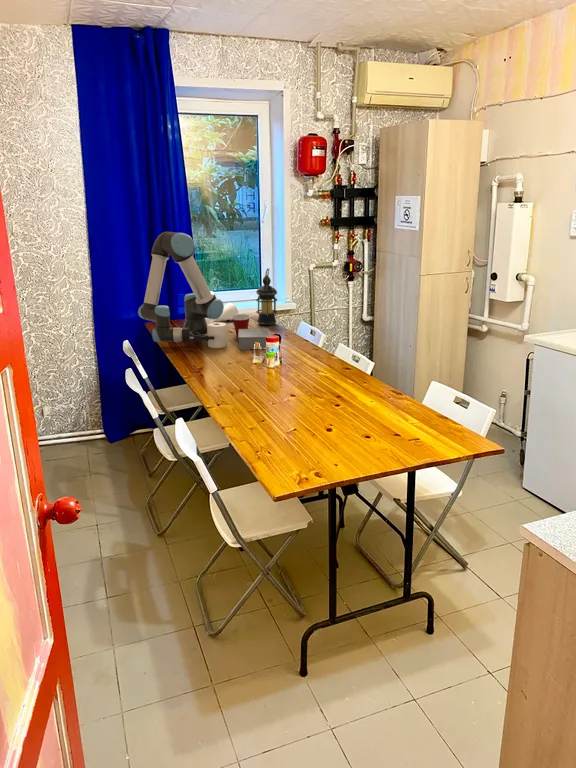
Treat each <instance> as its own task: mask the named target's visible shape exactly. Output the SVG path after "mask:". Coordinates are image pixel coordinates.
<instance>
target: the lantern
mask: <svg viewBox="0 0 576 768" xmlns="http://www.w3.org/2000/svg"><path fill="white" fill-rule="evenodd" d="M269 274H270V268H267V269H266V270H265V274H264V276H263V278H262V284H263V285H261V286H260V287H259V288H258V289H257V290H256V292H255V293H256V294H257V298H256V299H255V301H256V302H257V310H256V313H257V314H258V318H257V324H259V325H261V326H272V325H275V324H276V323H277V320H276V314H277V313H278V311H277V310H276V309H277V307H276V306H277V304H276V303H277V301H278V299H277V298H276V296H275V295H277V294H278V291H277V289H276V288H274V287H273V286H271V285H270V284H271V282H272V281H271V278H270V276H269ZM260 303H261V305H260ZM260 307H261V308H260Z"/></svg>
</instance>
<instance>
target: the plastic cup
mask: <svg viewBox="0 0 576 768" xmlns="http://www.w3.org/2000/svg"><path fill="white" fill-rule="evenodd" d="M232 319H233V320H232V321H233V327H234V331H235V336H236V338H238V336H239V329H249V323H250V319H251V315H250V314H247V313H246V314H243V313H240V314H238V315H234V316H232Z"/></svg>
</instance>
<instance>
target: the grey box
mask: <svg viewBox="0 0 576 768" xmlns="http://www.w3.org/2000/svg"><path fill="white" fill-rule="evenodd" d="M268 336H270V331H269V328H248V329H239V336H238V337H237V338H238V347H239V348H238V349H239V350H240V351H246V350H247V351H251V350H250V349H253V348H254V344H255V342H259V343H260V346H261V347H262V348H265V347H266V337H268Z"/></svg>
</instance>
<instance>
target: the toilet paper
mask: <svg viewBox="0 0 576 768" xmlns="http://www.w3.org/2000/svg"><path fill="white" fill-rule="evenodd" d="M206 335H221V340H208V342H207V346H208V348H212V349H222V348H226V347H227V346H228V338H227V337H228V335H227V323H226V322H222V321H216V322H213V323H211V322H210V323H207V334H206Z"/></svg>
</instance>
